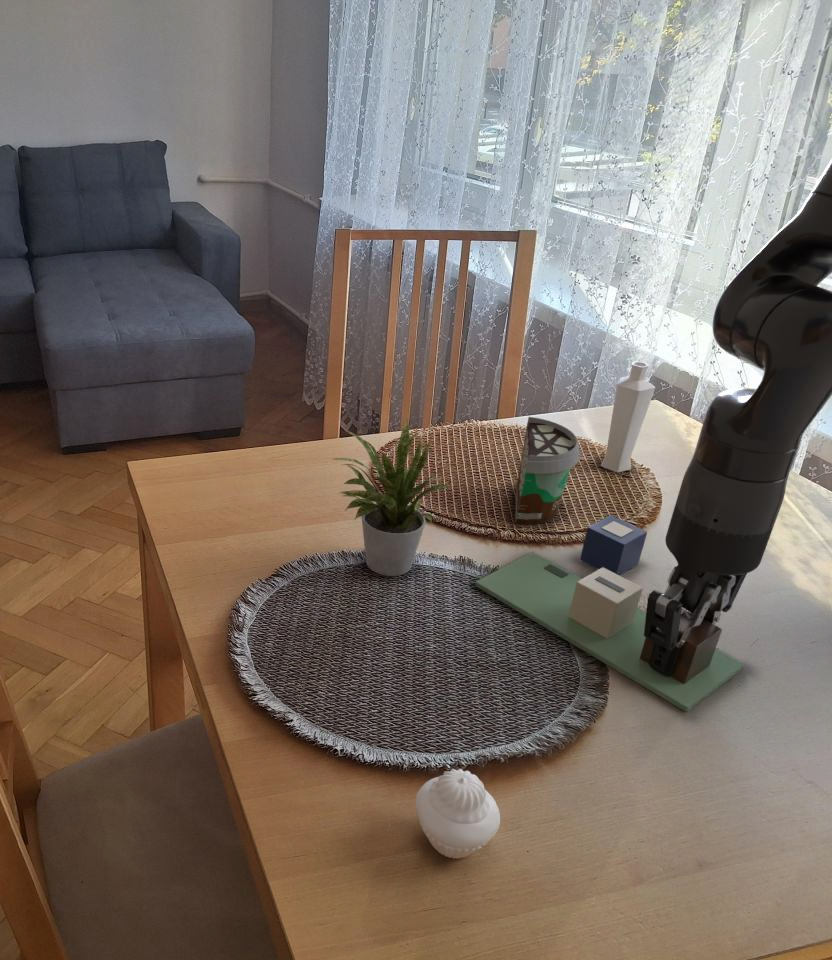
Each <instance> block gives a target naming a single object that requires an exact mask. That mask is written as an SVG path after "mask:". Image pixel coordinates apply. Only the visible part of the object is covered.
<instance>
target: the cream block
mask: <svg viewBox="0 0 832 960" xmlns="http://www.w3.org/2000/svg"><path fill="white" fill-rule="evenodd" d="M643 589H644V588H643V586H641V585H638V584H637V583H635V582H633V581H631V580H629V579H627V578H625V577H623V576H621V575H620V576H619V575H617V574H615V573H613V572H611V571H609V570H607V569H605V568H603V567H602V568H600V569H596V570H595V571H593V572H591V573H589V574H588V575H587V576H585V577H583V578H582V579H581V580H579V581H578V582H577V583H576V587H575V591H574V596H573V600H572V604H571V608H570V612H569V617H570V618H572V619H573V620H575V621H577V622H579V623H580V624H582V625H584V626H585V627H587V628H589V629H591V630H592V631H594V632H596V633H598V634H599V635H601V636H603V637H605V638H606V639H608V638H610V637H611V636H613V635H615V634H616V633H618V632H619V631H621V630H622V629H624V628H626V627H627V626H629V625H630V624H632V623H633V621H634V617H635V614H636V610H637V608H639V603H640V600H641V596H642V592H643Z"/></svg>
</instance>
